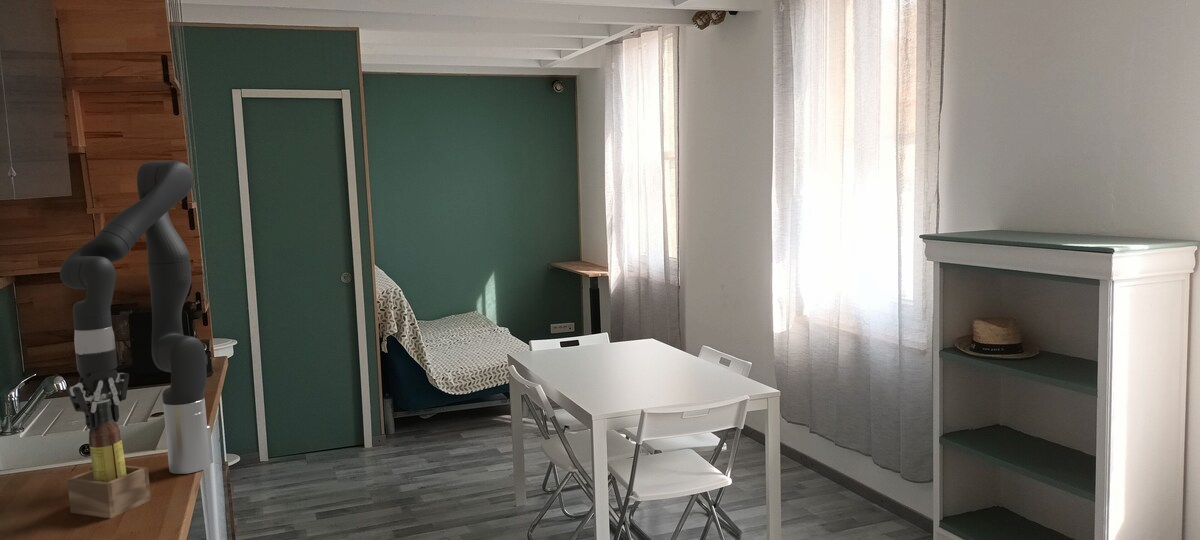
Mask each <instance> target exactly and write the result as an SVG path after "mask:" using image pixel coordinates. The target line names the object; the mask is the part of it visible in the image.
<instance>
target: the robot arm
mask: <svg viewBox="0 0 1200 540" xmlns="http://www.w3.org/2000/svg"><path fill="white" fill-rule="evenodd" d="M193 185H194V174H193V171H192V169H191V168H190V167H189V165H188V164H186V163H185V162H182V161H179V160H155V161H153V160H151V161H146V162H144V163H142V164H141V165H140V166H139V168H138V171H137V174H136V188H137V193H138V198H139V200H137V202H135V203H133V204H132V205H129V206H128V207H127V208H125V209H123V210H122V211H121V212H119V213H117V214H116V215H115V216H113V217H112V218H111V219H110V220H109V221H108V222H107V223H106V224H105V225H104V226H103V228H102V229H101V230H100V231H99V232H98V233H97V235H96V236H95V237H94V238H92V239H91V240H90V241H88V242H86V243H85V244H84V245H82V246H80V247H79V248H78V249H77V250H74V252H73V253H71V254H70V255H69V256H68V257H66V259H65V260H64V262H63V263H62V265H61V267H60V271H59V277H60V280H61V282H62V283H63V285H64V286H65V287H68V288H70V289H74V290H86V295H85V299H84V300H80V301H77V302H76V303H74V304H73V307H72V317H73V328H74V336H73V337H74V338H73V339H74V351H75V361H76V369H77V373H79V376H80V377H79V380H78V383H76V384H75V385H73V386H67V388H66V391H67V393H68V396H69V399H70V402H71V403H72V406H73V409H74V411H75V412H78V413H84V418H85V425H86V428H88V429H89V430H90V429H92V430H95V429H98V418H97V412H95V411H96V406H97V402H98V401H99V399H101V396H102V397H103V398H109V399H110V400H111V414H112V418H113V420H114V421H115V422H116V423H117V422H119V419H120V411H119V405H120V403H121V402H122V401H125V400H126V399H127V394H128V387H129V381H130V374H129V373H127V372H118V371H117V369H116V368H117V367H118V358H117V357H118V356H117V349H116V339H115V332H114V330H113V323H112V313H111V312H112V311H111V306H112V301H113V295H114V291H115V284H116V278H117V274H116V269H115V267H114V264H113V263H114V262H115V263H116V262H119V261H120V260H122V259H124V258H125V257H126V256H127V254H128V253H129V252H130V251H131V250H132V248H133V247H134V246H135V245H136V243H137V242H138V241H139V240H140V238H141V237H143V235H144V236H145V241H146V253H147V255H146V257H147V271H148V280H149V287H150V288H149V289H150V303H151V305H150V306H151V317H152V318H151V319H152V322H151V323H152V324H151V329H152V330H151V357H152V361H153V363H154V365H155V366H156V368H157V369H159V370H160V371H162V372H165V373H166V372H167V373H170V387H167V388H165V389H164V390H163V391H162V393H161V394H162V395H161V396H162V407H163V416H164V426H165V436H166V437H165V438H166V439H165V441H166V449H167V459H168V470H169V472H170V473H171V474H175V475H176V474H177V475H182V474H183V475H186V474H192V473H196V472H201V471H203V470H205V469H208V468H209V467H210V466H211V464H213V463H214V454H213V442H212V430H211V429H212V428H211V426H210V425H208V424H207V423H208V422H207V421H208V420H207V410H206V399H205V391H206V387H207V383H208V382H207V381H208V379H207V378H208V376H207V355H206V349H205V346H204V344H203V342H202V341H201V340H200V339H198V338H197V337H194V336H191V335H184V330H183V321H182V320H183V319H182V317H183V315H182V314H183V307H184V304H185V302H186V298H187V296H188V294H189V292H190V287H191V284H192V267H191V257H190V251H189V249H188V248H187V245H186V243H185V242H184V240H183V239H182V237H181V236H180V234H179V233H178V232H177V230H176V228H175V227H174V226H173V225H174V224H173V223H172V221H171V217H170V215H169V211H170V210H171V209H173V208H174V207H175V206H177V204H178V203H180V202H181V201H182V200H183V199H185V198H186V197H187V196H188V195H189V194H190V192H191V191H192V189H193V187H194V186H193ZM90 402H91V403H90Z"/></svg>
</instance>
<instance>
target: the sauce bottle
mask: <svg viewBox="0 0 1200 540" xmlns="http://www.w3.org/2000/svg"><path fill="white" fill-rule="evenodd" d="M90 403H91V402H90ZM95 412H97V418H98V429H95V430H92V429H89V432H88V444H89V452H90V457H91V458H90V459H91V467H92V470H93V475H94V481H101V482H110V481H112V480H115V479H117V478H120V477H122V476H125V475H127V474H126V467H125V465H126V461H125V453H124V447H123V441H122V440H123V439H122V438H121V430H120V427H119V425H118V424H117V422H115V421H114V420H113V418H112V414H111V400H110V399H109V398H104V397H103V398H100V399H99V401H98V402H97V406H96V411H95Z"/></svg>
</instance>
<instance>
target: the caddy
mask: <svg viewBox="0 0 1200 540" xmlns="http://www.w3.org/2000/svg"><path fill="white" fill-rule="evenodd" d="M125 467H126V474H127V475H125V476H122V477H120V478H117V479H115V480H112V481H110V482H101V481H94V475H93V469H91V470H88V471H85V472H83V473H80V474H78V475H74V476H73V477H70V478H67V479H66V484H67V492H68V502H69V509H70V511H69V512H70V514H76V515H83V516H91V517H98V518H105V519H113V518H115V517H117V516H120V515H122V514H123V513H126V512H128V511H130V510H132V509H135V508H136V507H139V506H141V505H143V504H146V503H147V502H150V501H152V498H151V497H152V496H151V495H152V494H151V487H150V476H149V475H150V474H149V467H143V466H135V465H126V464H125Z"/></svg>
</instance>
